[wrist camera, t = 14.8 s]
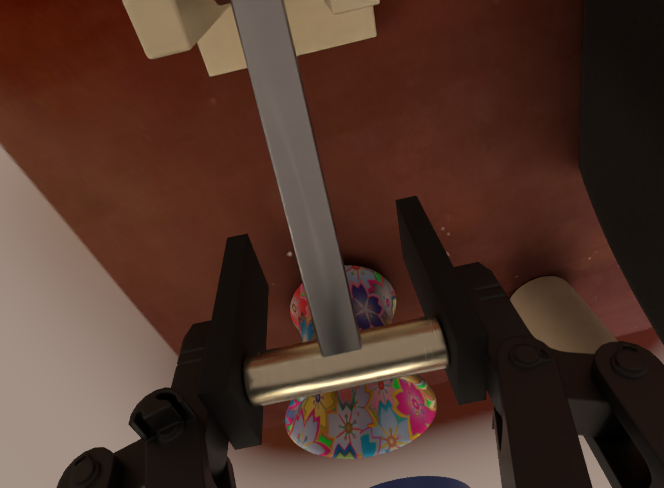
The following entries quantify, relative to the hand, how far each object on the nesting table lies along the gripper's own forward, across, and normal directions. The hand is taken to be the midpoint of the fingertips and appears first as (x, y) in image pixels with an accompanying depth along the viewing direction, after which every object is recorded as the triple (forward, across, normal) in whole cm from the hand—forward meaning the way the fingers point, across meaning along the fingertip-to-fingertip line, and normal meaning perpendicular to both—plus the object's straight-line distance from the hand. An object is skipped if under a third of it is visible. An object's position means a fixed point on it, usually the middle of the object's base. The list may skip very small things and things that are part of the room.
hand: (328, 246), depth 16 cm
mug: (+12, -1, -16) cm, 20 cm away
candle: (+12, +16, -19) cm, 28 cm away
